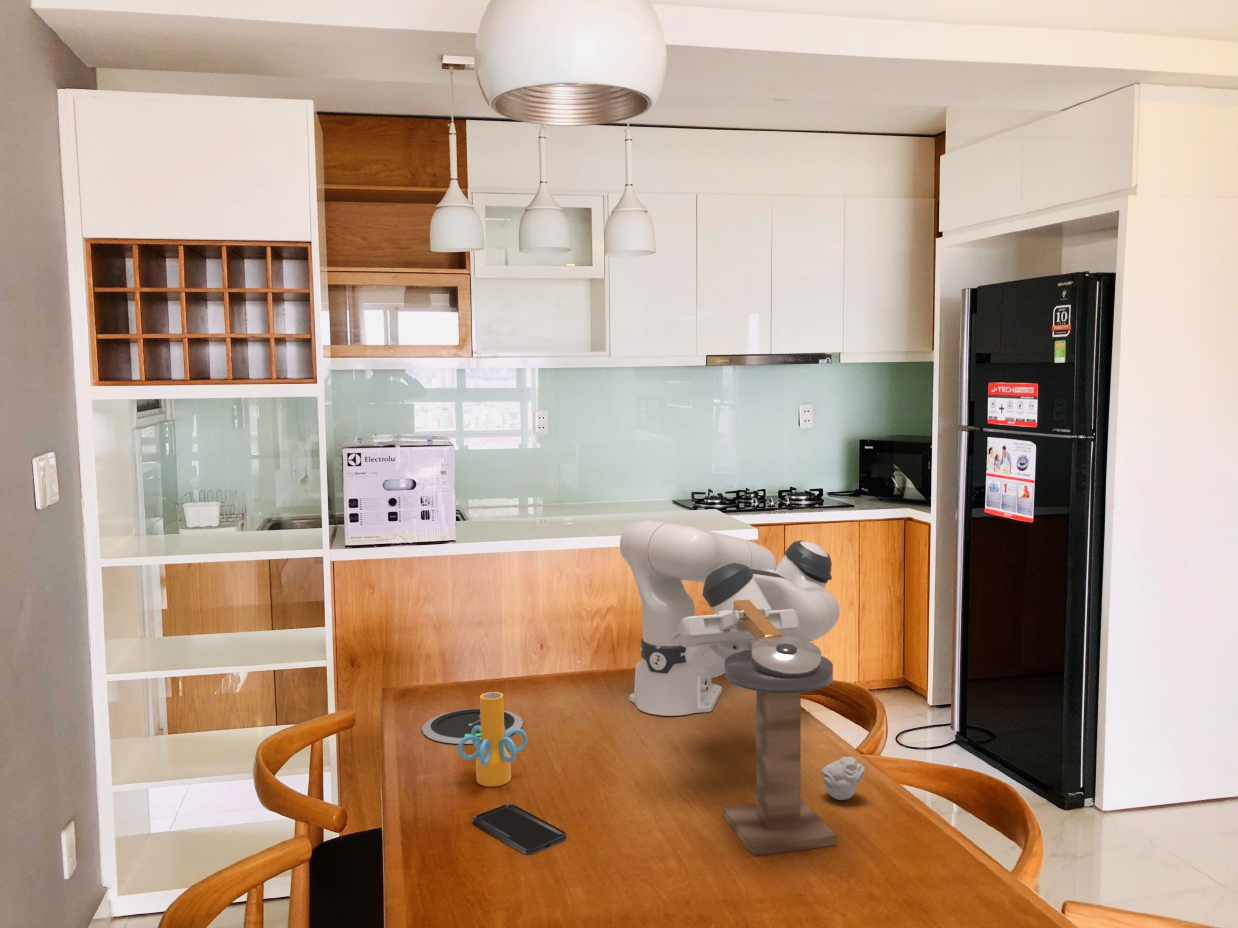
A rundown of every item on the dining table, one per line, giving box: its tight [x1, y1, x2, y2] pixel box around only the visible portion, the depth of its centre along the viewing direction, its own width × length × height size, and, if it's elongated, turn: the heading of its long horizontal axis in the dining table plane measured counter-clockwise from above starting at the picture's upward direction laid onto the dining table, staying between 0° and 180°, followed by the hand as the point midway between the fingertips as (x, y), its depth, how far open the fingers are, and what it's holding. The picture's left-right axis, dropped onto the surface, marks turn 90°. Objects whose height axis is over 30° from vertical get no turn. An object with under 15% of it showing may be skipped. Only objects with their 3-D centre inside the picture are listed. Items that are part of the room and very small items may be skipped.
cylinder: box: [457, 691, 528, 788], centre depth 164 cm, size 12×10×15 cm
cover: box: [733, 600, 822, 678], centre depth 146 cm, size 24×10×2 cm, turn 13°
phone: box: [472, 803, 567, 856], centre depth 146 cm, size 8×1×15 cm
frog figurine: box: [820, 756, 866, 801], centre depth 155 cm, size 6×7×7 cm
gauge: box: [421, 708, 524, 746], centre depth 191 cm, size 20×20×1 cm
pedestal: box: [722, 650, 838, 857], centre depth 144 cm, size 16×16×26 cm
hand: (752, 614), depth 153 cm, fingers closed on cover, 3 cm apart
